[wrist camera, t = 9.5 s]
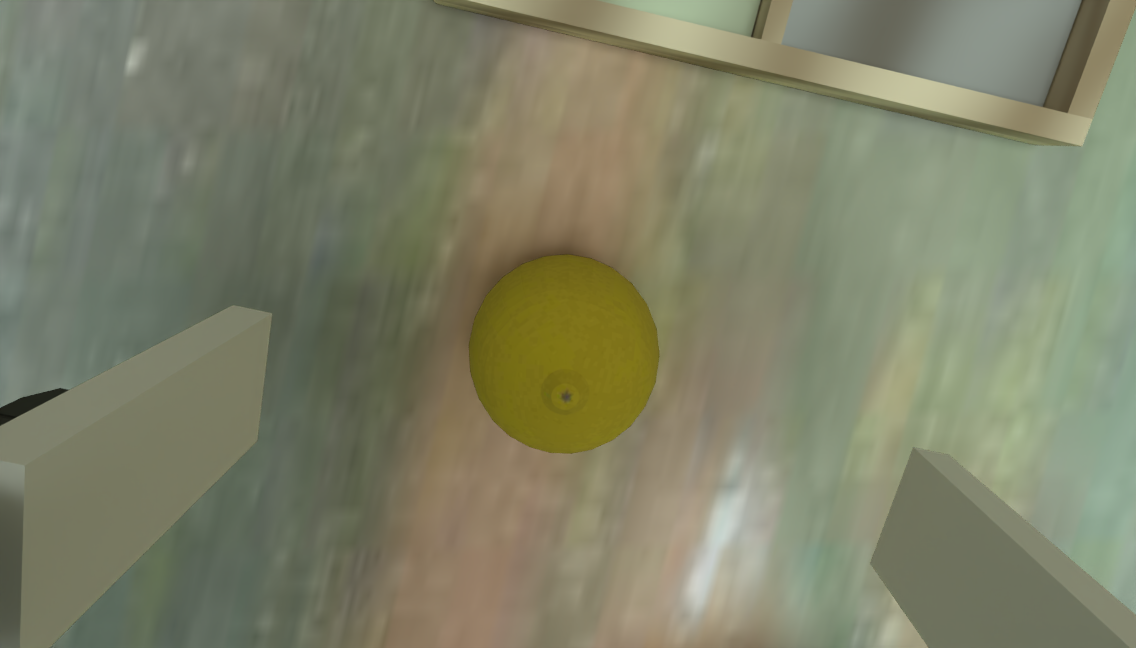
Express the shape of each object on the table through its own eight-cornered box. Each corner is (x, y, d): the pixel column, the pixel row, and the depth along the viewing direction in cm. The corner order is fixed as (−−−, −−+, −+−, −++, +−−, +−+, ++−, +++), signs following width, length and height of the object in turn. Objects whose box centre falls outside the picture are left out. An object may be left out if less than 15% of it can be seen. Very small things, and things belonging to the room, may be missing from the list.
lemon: (636, 394, 26) (670, 504, 18) (481, 388, 26) (449, 497, 18) (648, 241, 25) (689, 290, 17) (484, 233, 24) (450, 279, 17)
